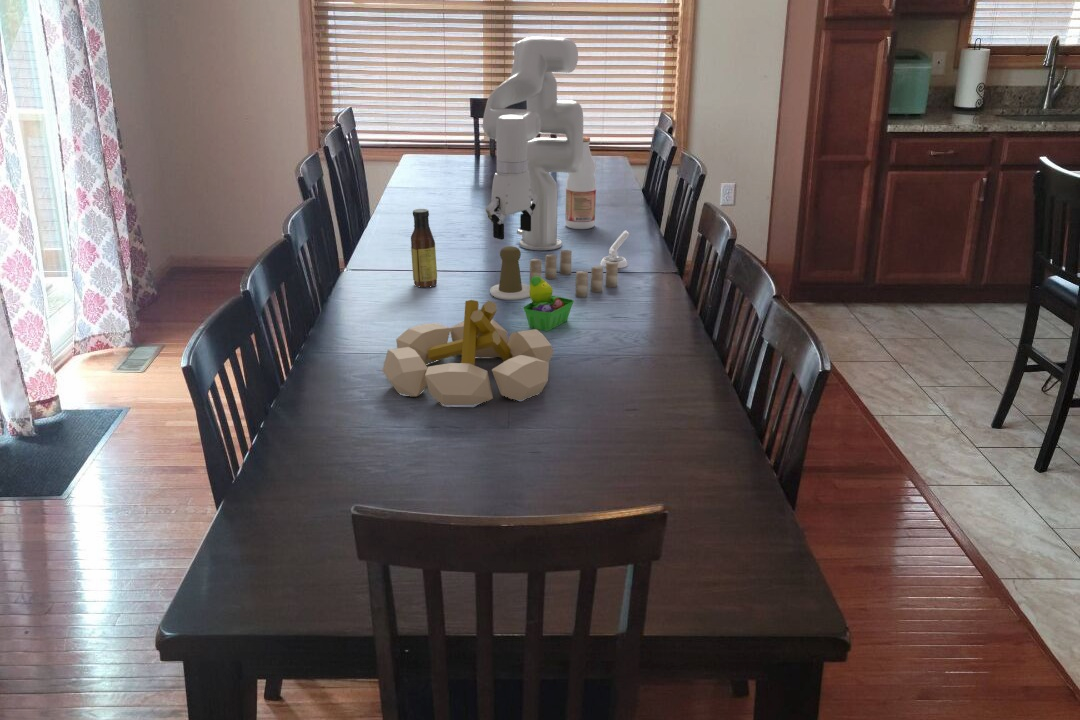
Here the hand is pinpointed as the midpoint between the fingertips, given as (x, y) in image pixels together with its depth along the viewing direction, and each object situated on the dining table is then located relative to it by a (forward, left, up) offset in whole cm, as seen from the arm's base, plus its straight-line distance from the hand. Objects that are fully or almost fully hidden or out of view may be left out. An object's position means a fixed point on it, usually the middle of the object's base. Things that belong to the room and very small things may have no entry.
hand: (512, 234), depth 263 cm
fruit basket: (+22, -12, -16) cm, 30 cm away
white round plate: (0, -1, -15) cm, 15 cm away
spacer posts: (+6, +16, -15) cm, 23 cm away
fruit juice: (-33, +64, -16) cm, 74 cm away
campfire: (+33, -47, -16) cm, 60 cm away
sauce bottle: (-21, -12, -16) cm, 28 cm away
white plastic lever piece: (+2, +38, -16) cm, 42 cm away
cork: (0, -1, -14) cm, 14 cm away
